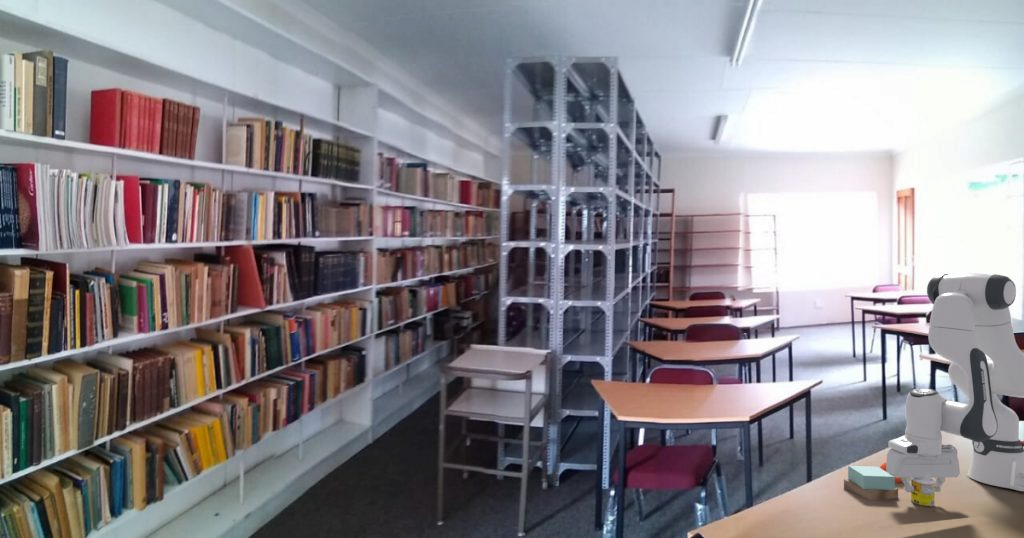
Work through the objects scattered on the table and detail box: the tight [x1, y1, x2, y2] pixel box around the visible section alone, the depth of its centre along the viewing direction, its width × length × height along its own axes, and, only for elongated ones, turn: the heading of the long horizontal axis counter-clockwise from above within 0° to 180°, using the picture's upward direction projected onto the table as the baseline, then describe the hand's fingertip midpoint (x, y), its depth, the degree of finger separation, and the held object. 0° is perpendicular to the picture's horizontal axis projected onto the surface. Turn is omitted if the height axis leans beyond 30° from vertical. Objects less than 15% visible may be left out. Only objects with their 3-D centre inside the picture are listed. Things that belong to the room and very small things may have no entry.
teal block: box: [847, 465, 896, 490], centre depth 175 cm, size 9×9×4 cm
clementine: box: [879, 462, 903, 483], centre depth 186 cm, size 8×7×7 cm
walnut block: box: [843, 478, 899, 501], centre depth 175 cm, size 10×10×4 cm
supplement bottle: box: [910, 474, 935, 508], centre depth 168 cm, size 6×6×10 cm
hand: (922, 491), depth 168 cm, fingers open, 7 cm apart
